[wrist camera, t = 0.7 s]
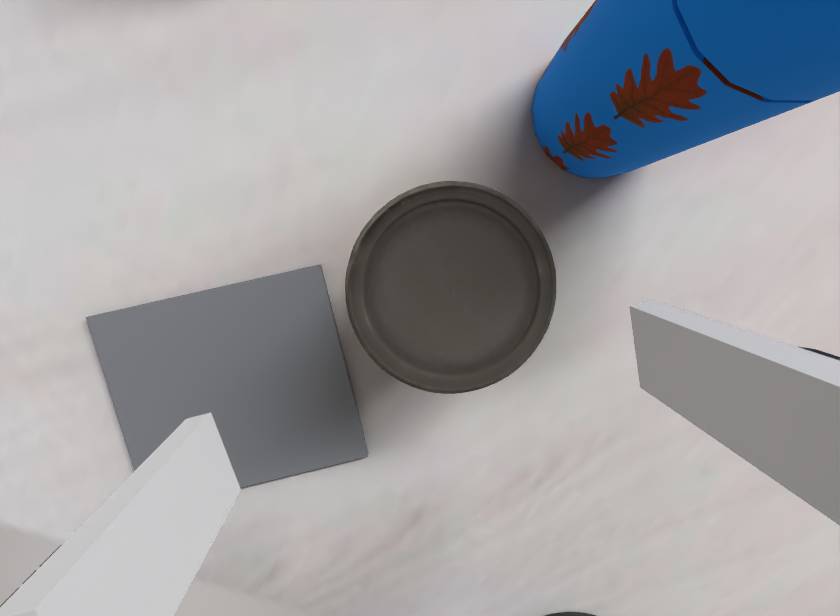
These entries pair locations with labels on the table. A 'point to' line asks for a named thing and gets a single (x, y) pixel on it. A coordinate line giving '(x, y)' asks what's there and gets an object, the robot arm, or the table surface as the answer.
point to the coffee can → (450, 287)
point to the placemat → (236, 374)
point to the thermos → (679, 76)
